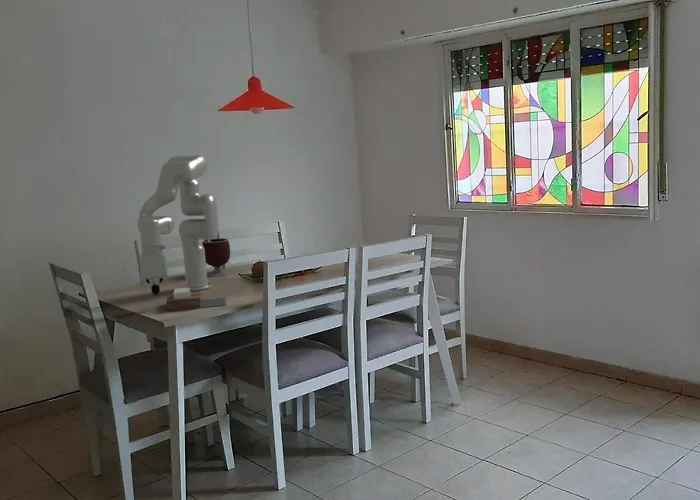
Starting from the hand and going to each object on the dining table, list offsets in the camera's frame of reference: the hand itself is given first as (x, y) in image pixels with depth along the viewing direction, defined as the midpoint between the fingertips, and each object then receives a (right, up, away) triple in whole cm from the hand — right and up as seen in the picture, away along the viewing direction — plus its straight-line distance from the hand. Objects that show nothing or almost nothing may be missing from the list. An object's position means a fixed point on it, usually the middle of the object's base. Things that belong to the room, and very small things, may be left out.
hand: (156, 294), depth 275 cm
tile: (+10, -1, +2) cm, 10 cm away
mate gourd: (+11, +6, +70) cm, 71 cm away
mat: (+22, -4, +5) cm, 23 cm away
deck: (+11, -5, +3) cm, 12 cm away
